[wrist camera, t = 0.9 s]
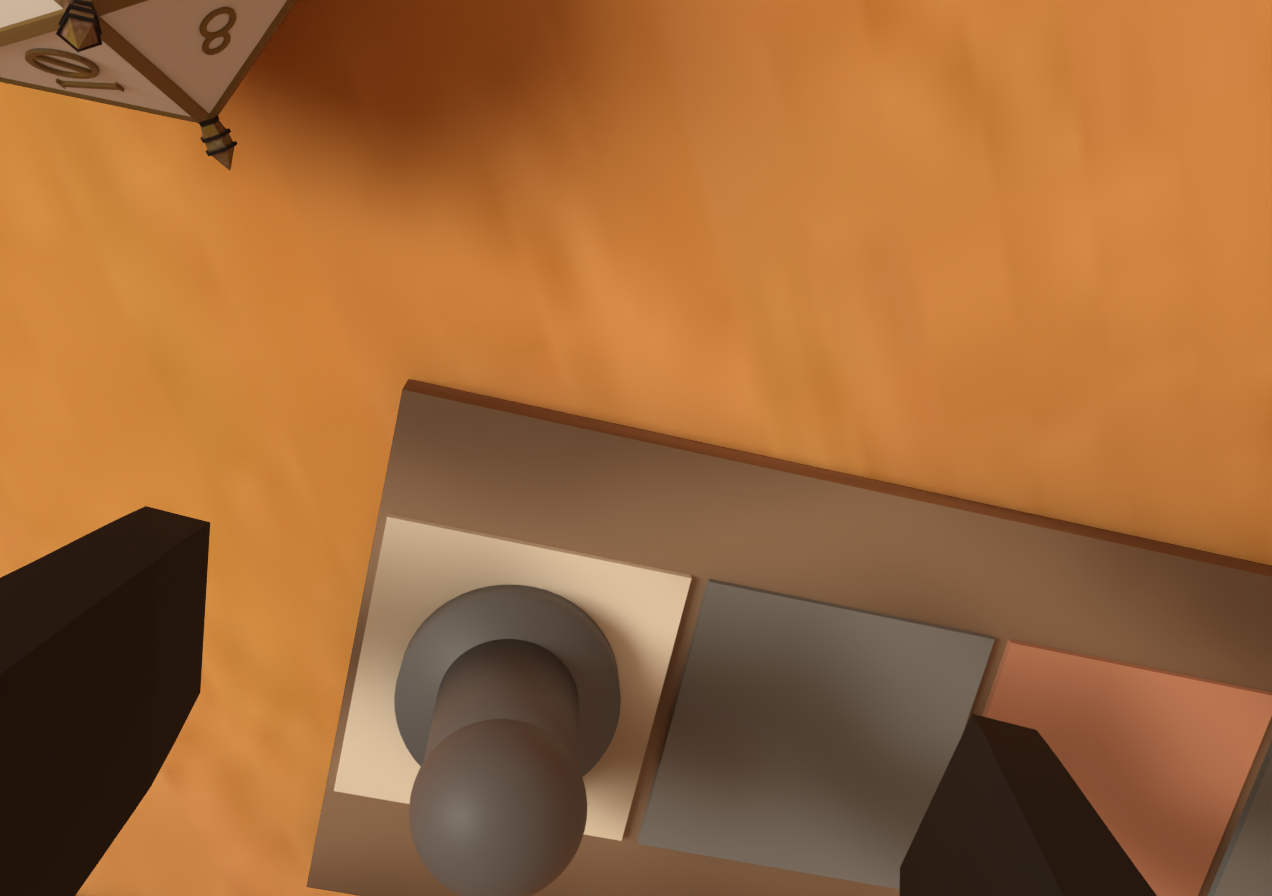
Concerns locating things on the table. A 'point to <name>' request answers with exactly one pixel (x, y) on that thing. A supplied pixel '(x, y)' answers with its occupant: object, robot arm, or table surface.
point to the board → (804, 660)
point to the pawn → (504, 735)
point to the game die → (141, 53)
